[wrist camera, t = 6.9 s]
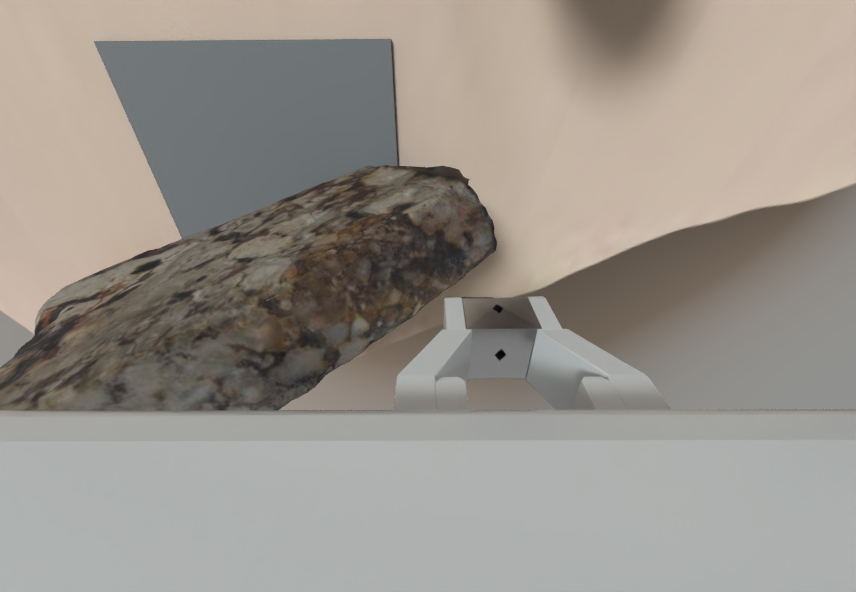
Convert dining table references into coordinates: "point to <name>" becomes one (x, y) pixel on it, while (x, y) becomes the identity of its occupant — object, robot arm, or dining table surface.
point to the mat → (253, 117)
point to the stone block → (254, 299)
